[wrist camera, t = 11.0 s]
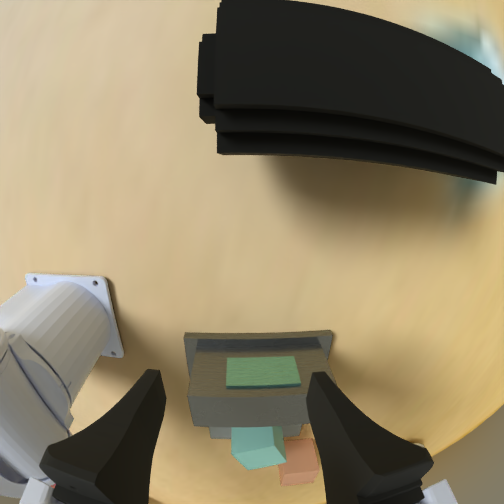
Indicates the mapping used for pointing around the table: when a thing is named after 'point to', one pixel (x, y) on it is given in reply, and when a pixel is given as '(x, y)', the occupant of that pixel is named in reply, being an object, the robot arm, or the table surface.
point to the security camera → (347, 90)
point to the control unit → (253, 376)
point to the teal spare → (258, 446)
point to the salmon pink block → (299, 463)
